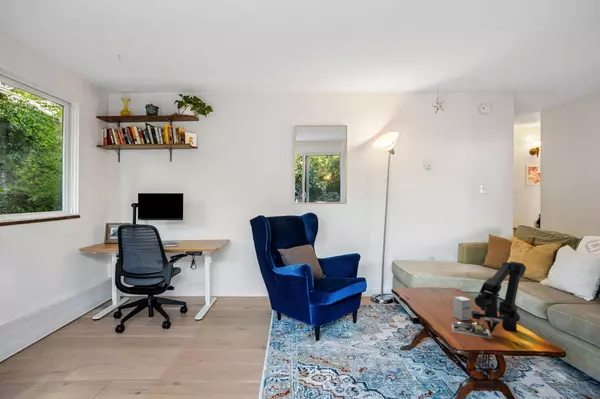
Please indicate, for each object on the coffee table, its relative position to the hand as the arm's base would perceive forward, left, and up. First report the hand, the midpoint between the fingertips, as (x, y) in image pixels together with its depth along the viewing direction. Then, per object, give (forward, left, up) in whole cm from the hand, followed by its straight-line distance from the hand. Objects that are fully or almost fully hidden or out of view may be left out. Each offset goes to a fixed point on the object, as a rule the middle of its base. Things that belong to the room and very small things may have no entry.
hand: (491, 332), depth 170 cm
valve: (+6, 0, -1) cm, 6 cm away
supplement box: (+13, -20, -1) cm, 24 cm away
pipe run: (+10, 0, -1) cm, 10 cm away
